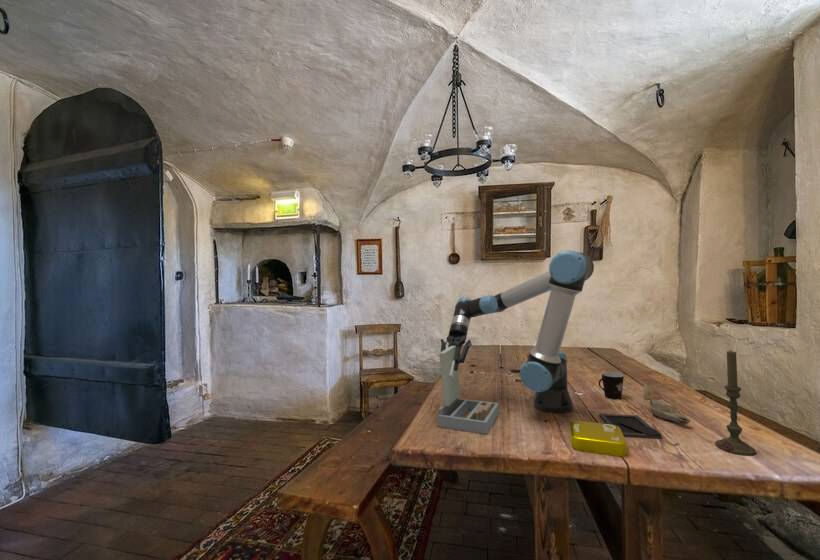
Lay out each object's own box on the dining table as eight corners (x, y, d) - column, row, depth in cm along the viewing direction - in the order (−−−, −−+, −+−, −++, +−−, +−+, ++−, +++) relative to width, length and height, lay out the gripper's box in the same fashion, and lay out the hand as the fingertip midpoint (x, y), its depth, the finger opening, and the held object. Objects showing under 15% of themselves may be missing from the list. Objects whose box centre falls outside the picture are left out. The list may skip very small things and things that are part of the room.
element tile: (569, 431, 122) (569, 418, 122) (619, 437, 117) (618, 423, 117) (571, 451, 108) (571, 435, 108) (628, 459, 103) (627, 442, 103)
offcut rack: (499, 413, 140) (498, 398, 140) (486, 434, 121) (486, 416, 121) (456, 407, 148) (455, 393, 148) (437, 426, 129) (437, 410, 129)
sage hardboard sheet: (460, 394, 143) (456, 345, 143) (449, 406, 132) (444, 353, 132) (455, 394, 144) (451, 345, 144) (444, 405, 133) (439, 353, 133)
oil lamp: (657, 407, 142) (656, 382, 142) (700, 429, 121) (699, 400, 121) (635, 408, 142) (635, 383, 142) (675, 430, 121) (674, 400, 121)
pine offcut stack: (492, 417, 136) (491, 402, 136) (486, 426, 128) (486, 410, 128) (480, 416, 138) (480, 401, 138) (474, 424, 130) (474, 408, 130)
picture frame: (662, 440, 114) (637, 419, 132) (661, 434, 114) (637, 414, 132) (617, 438, 117) (599, 417, 134) (616, 432, 117) (599, 412, 134)
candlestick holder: (707, 442, 111) (703, 347, 111) (733, 440, 111) (730, 346, 112) (736, 456, 102) (732, 352, 102) (765, 454, 102) (761, 351, 103)
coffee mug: (618, 394, 160) (617, 372, 160) (628, 400, 151) (627, 377, 151) (591, 393, 161) (591, 372, 161) (600, 400, 152) (599, 377, 152)
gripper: (478, 334, 150) (469, 383, 135) (444, 333, 157) (432, 380, 141) (474, 322, 145) (464, 373, 130) (440, 322, 152) (426, 370, 137)
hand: (447, 376), depth 136 cm, fingers closed on sage hardboard sheet, 2 cm apart
